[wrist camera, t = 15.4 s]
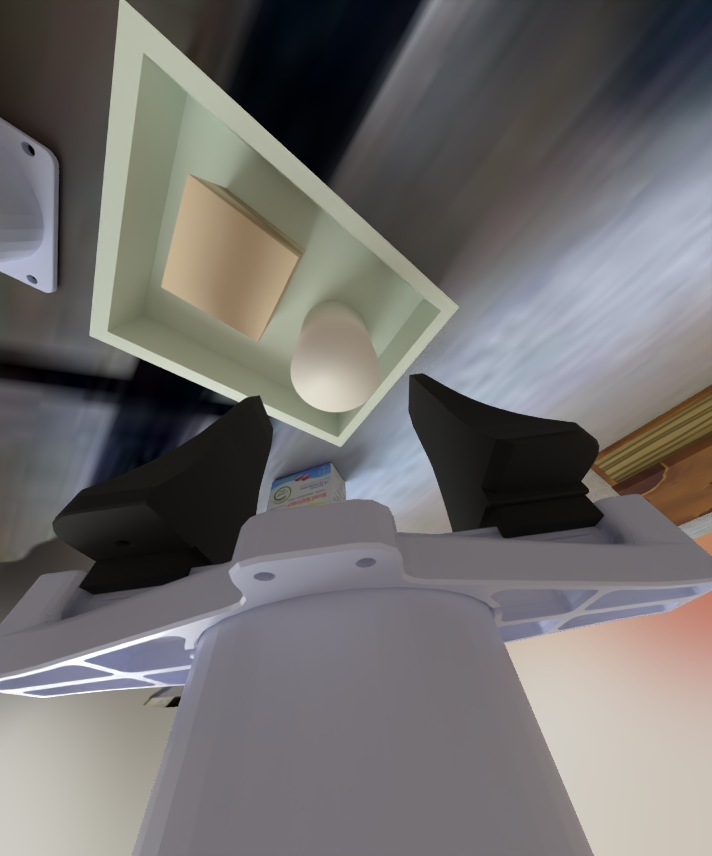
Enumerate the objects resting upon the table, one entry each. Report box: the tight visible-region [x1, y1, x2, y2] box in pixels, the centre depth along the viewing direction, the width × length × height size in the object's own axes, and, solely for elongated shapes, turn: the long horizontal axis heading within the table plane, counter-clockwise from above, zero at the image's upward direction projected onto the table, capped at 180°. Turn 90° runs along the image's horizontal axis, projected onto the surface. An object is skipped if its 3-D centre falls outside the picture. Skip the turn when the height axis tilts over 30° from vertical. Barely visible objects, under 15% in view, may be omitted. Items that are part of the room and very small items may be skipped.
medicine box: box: [266, 463, 346, 512], centre depth 28 cm, size 8×4×9 cm, turn 110°
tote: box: [89, 0, 459, 447], centre depth 17 cm, size 18×14×4 cm
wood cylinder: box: [291, 300, 380, 412], centre depth 17 cm, size 5×5×7 cm
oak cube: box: [161, 174, 306, 342], centre depth 15 cm, size 5×5×5 cm
